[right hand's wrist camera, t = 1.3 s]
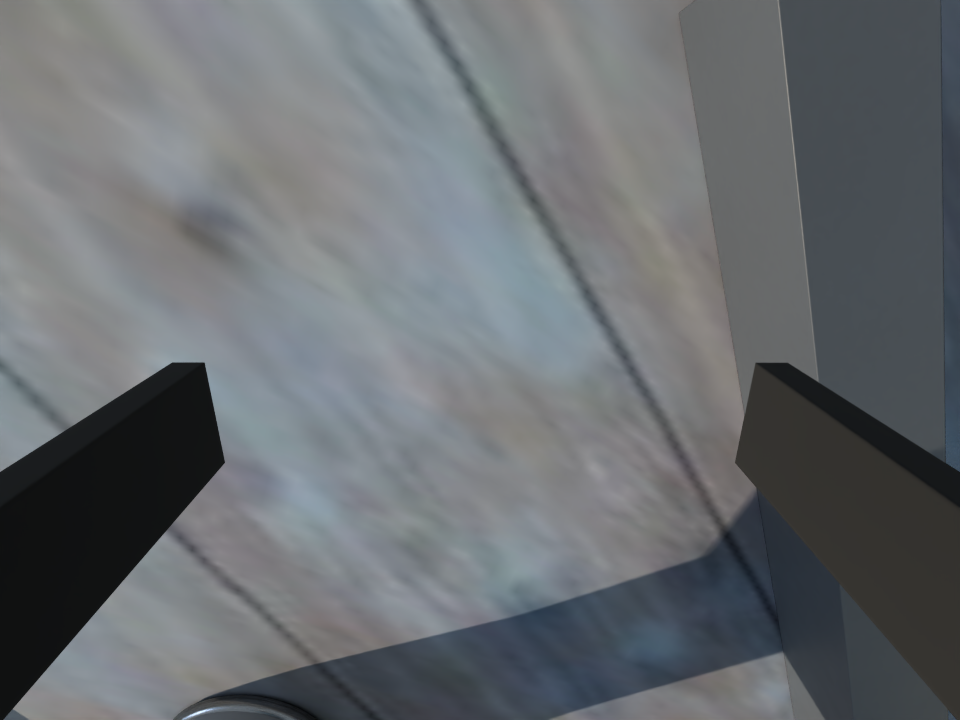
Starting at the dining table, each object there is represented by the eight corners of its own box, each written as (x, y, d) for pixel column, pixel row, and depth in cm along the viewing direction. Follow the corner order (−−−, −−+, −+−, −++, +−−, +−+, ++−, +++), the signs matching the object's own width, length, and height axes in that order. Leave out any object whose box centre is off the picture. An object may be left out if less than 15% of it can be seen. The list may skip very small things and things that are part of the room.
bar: (678, 12, 25) (771, -61, 17) (789, -29, 24) (940, -124, 16) (819, 874, 51) (883, 1007, 43) (875, 864, 50) (951, 996, 42)
